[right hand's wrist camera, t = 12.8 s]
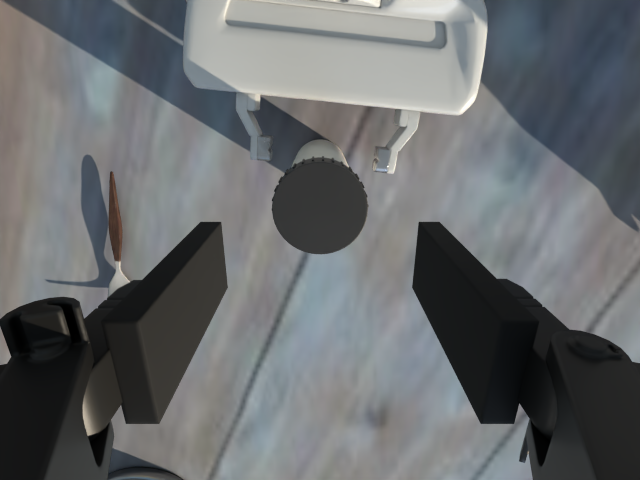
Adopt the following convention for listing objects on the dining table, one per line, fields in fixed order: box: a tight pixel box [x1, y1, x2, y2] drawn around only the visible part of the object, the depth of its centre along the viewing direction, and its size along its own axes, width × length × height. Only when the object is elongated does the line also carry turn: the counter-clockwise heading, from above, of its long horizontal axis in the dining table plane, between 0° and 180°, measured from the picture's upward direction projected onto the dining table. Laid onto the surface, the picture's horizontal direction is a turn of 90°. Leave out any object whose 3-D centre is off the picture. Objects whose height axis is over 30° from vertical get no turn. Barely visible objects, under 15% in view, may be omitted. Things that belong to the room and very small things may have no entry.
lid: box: [272, 156, 368, 254], centre depth 21 cm, size 5×5×2 cm
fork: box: [108, 172, 130, 297], centre depth 36 cm, size 3×16×2 cm, turn 172°
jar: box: [291, 139, 349, 168], centre depth 27 cm, size 5×5×15 cm
